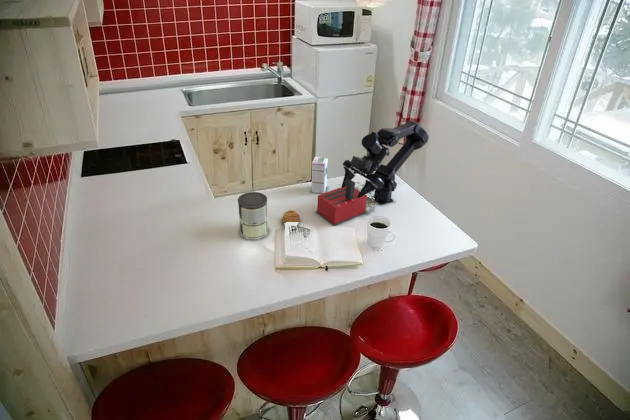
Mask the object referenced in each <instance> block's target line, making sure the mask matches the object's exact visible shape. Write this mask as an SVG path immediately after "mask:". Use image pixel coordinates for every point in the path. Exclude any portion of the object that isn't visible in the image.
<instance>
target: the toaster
mask: <svg viewBox="0 0 630 420" xmlns="http://www.w3.org/2000/svg"><path fill="white" fill-rule="evenodd" d="M360 191H361V190H359V189H357V188H355V187H354V195H353V199H351V200H348V199H347V198H345V194H346V186H345V187H344V188H342V187H338V188H335V189H332V190H330V191H329V190H328V191H327V192H326V191H325V193H319V194H318V195H317V203H316V204H317V205H316V213H317V215H319V216H320V217H322V218H323V219H324V220H326V221H327V222H328V223H329V224H331V225H332V226H334V227H335V226H338V225H340V224H343V223H345V222H347V221H351V220H353V219H355V218H358V217H360V216H363V215H365V214H367V211H365V210H367V201H368V195H367V194H365V195H363V196H362V197H360V198H358V197H357V196H358V194H359V192H360Z"/></svg>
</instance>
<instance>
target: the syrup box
mask: <svg viewBox="0 0 630 420" xmlns="http://www.w3.org/2000/svg"><path fill="white" fill-rule="evenodd" d="M328 159H329V158H328V157H326V156H314V158H313V160H312V162H311V193H316V194H323V193H326V190H327V187H328V164H329V163H328V161H329V160H328Z"/></svg>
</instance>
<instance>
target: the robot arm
mask: <svg viewBox="0 0 630 420" xmlns="http://www.w3.org/2000/svg"><path fill="white" fill-rule="evenodd" d="M403 138H405V142H404V144H403V145H402V146H401V147H400V148H399V149H398V151H397V152H396V153H395V154H394V156H393V157H392V158H391V159H390V160H389V162H388V163H387V164H381V163H382V162H383V160H384V159H385V157H386V156H387V157H389V156H390V148H393V147H395V146H396V145H397V144H399V140H401V139H403ZM428 142H429V135H428V132H427V131H426V129H424V128H423V127H422V125H421V124H420V123H419V122H416V121H412V120H407V122H405V123H403V124H400V125H398V126H395V127H383V128H381V129H379V130H378V131H377V132H375V131H371V132H370V133H368V134H366V135H365V136H363V138H362V139H361V146H362V147H363V148H364V150H365V151H366V152H367V153H368V154H367V155H363V156H362V157H359V156H356V155H353V156H352V158H351V159H350V160H349V159H346V160H344V161H343V163H342V166H343V169H344V176H343V179H342V182H341V187H342V188H344V187H345V186H346V181H349V180H352V181H353V179H354V178H355V177H356V175H355V174H358V175H360V176H361V177H363V178H365V183H364V185H363V186H362V188H361V190H359V191H360V192H359V194H358V196H357V197H358V198H360V197H362V196H363V195H367V194H369V193H371V192H373V191H374V194H373V196H372V197H374V198H375V200H374V201H375V202H377V203H378V204H379V205H381V206H382V205H385V204H386V205H387V204H390V203H393V202H394V200H393V198H392V192H395V190H396V189H397V185H398V183H397V182H396V173H397V172H398V171H399V170H400V168H401V167H402V166H403V165H404V164H405V162H406V161H407V160H408V159H409V157H410V156H411V155H412V154H413V153H414V152H415V151H416V150H419V149H421V148H423V147H424V146H425V145H426V144H427V143H428ZM388 147H389V148H388Z"/></svg>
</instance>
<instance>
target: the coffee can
mask: <svg viewBox="0 0 630 420" xmlns="http://www.w3.org/2000/svg"><path fill="white" fill-rule="evenodd" d="M237 205H238V216H239V217H238V218H239V230H240V231H239V232H240V235H241V237H243V238H244V239H246V240H252V241H254V240H256V241H257V240H260V239H262V238H265V237H266V236H267V235H268V234H269V230H268V229H269V225H268V224H269V223H268V197H267V195H266V194H264V193H263V192H262V193H261V192H257V191H250V192H248V191H247V192H244V193H243V194H240V195H239V196H238V197H237Z"/></svg>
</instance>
